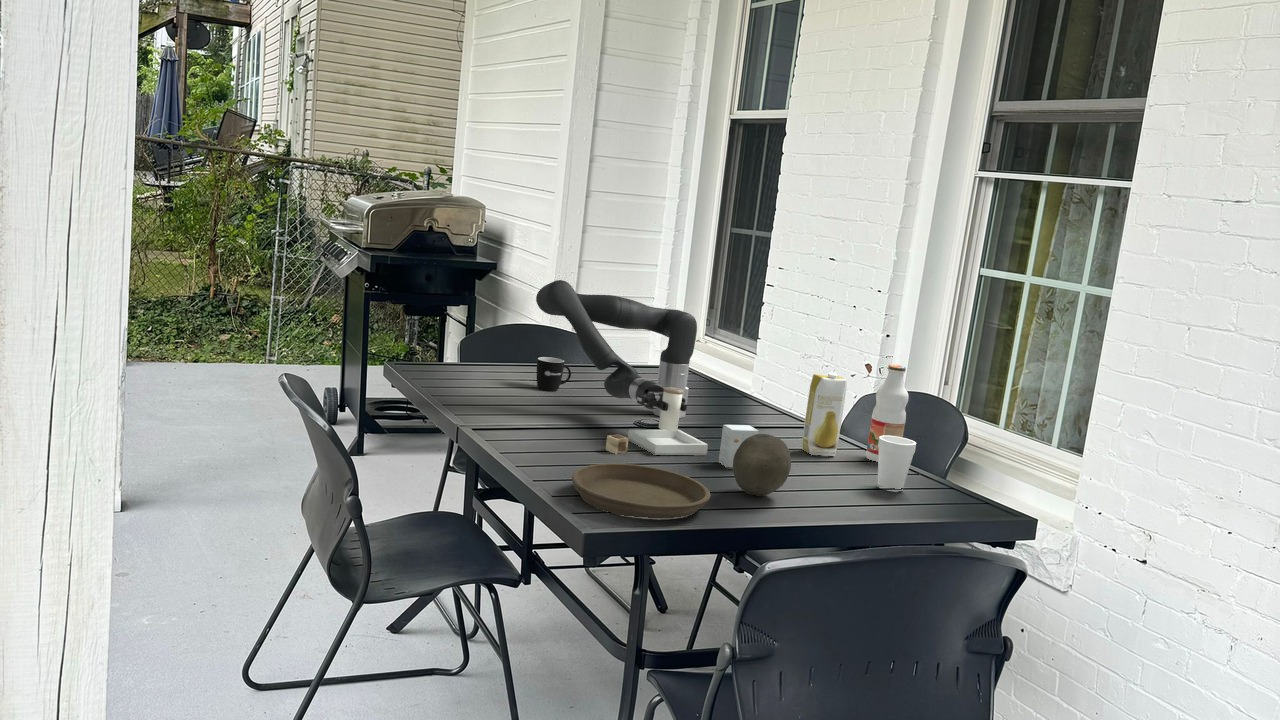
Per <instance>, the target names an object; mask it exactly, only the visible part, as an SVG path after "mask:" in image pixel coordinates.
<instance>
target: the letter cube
mask: <svg viewBox="0 0 1280 720" xmlns="http://www.w3.org/2000/svg"><path fill="white" fill-rule="evenodd" d="M628 439H629V438H628V437H626V436H623V435H622V434H621V435H620V434H612V435H611V434H609V435H607V437H606V444H605V451H606V452H610V453H612V454H614V453H615V455H618V454H617V453H621V454H627V453H628V446H629V441H628ZM626 452H627V453H626Z"/></svg>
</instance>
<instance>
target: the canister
mask: <svg viewBox="0 0 1280 720" xmlns="http://www.w3.org/2000/svg"><path fill="white" fill-rule="evenodd" d="M663 391H664V392H663V399H662V401H664V402H666V403H668V409H667V411H663V410H661V413H660V416H659V422H658V428H659V430H668V431H676V430H679V429H678V428H679V423H680V418H679V415H680V408H681V401H682V394H683V390H682V389H679V388H675V387H664V389H663Z"/></svg>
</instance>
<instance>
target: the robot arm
mask: <svg viewBox="0 0 1280 720" xmlns="http://www.w3.org/2000/svg"><path fill="white" fill-rule="evenodd" d="M535 301H536V305H537V307H538V308H539V309H540V310H541V311H542V312H544V313H545V314H547V315H550V316H558V317H559V316H560V317H564V318H566V320H567V321H568V322H569V324H570V325H571V326H572V328H573V330H574V332H575V335H576V338H577V339H578V340H577V341H578V342H579V344H580V347H581V349H582V351H583V352H584V353H585V355H586V356H587V357H588V359H589V360H590V361H591V362H592V365H594V367H595V368H596V369H597V370H599V371H604V370H606V369H608V368H610V367H612V366H615V367H616V369H615V370H614V371H613V372H611V373H610V374H609V375H607V376H606V378H605V379H604V383H603V386H604V390H605V391H606V392H607V393H608V395H610V396H612V397H613V398H616V399H631V400H633V401H634V402H635V403H636V404H638V405H640V406H642V407H644V408H646V409H648V410H653V415H654V416H657V417H660V413H661V410H663V411H667V409H668V403H666V402H664V401H662V399H663V392H664V391H663V389H664V387H675V388H679V389H682V390H683V394H682V401H681V408H680V415H679V419H680V418H685V417H686V413H687V412H686V411H687V407H688V397H689V396H688V395H689V389H690V388H689V387H688V386H687V385H688V375H689V370H690V369H689V368H690V361H691V358H692V356H693V354H694V350H695V345H696V339H697V333H698V323H697V320H696V318H695V316H694V315H692V314H691V313H689V312H686V311H683V310H680V309H673V308H672V309H671V308H663V307H662V308H661V307H655V306H650V305H646V304H644V303H642V302H639V301H636V300H633V299H630V298H627V297H622V296H619V295H612V294H582V293H576V290H575V289H574V287H573V286H572V285H571V283H569V282H567V280H566V281H565V280H563V279H560V280H559V279H557V280H554V281H551V282H549V283H547V284H546V285H544V286H542V287H541V288H540V289H539V291H538V292H537V293H536V297H535ZM594 323H597V324H601V325H605V326H609V327H613V328H619V329H625V330H646V331H650V332H654V333H657V334H659V335H662V336H664V337H667V338H668V341H667V346H666V348H665V349H664V350H662V351H661V353H660V358H659V365H658V374H657V382H655V381H652V380H650V379H648V378H644V377H642V376H639V373H638V371H637V370H636V368H635V367H633V366H632V365H631V364H629V363H628V362H627V361H625V360H623V359H622V357H620V356H619V355H618V354H617V353H616V352H615V351H614V350H613V348H612V347H611V346H610V344H609V343H608V342H607V340H606V339H605V338H604V337H603V335H602V334H601V332H600V331H599V330H598V328H597V327H596V325H595V324H594Z"/></svg>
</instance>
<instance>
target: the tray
mask: <svg viewBox="0 0 1280 720" xmlns="http://www.w3.org/2000/svg"><path fill="white" fill-rule="evenodd" d="M627 435H628V436H627V438H629V439H628V442H630V443H632V444H633V443H634V444H633V445H635V444H636V445H635V446H637V445H638V446H637V447H639V448H640V447H641V448H640V449H642V448H643V449H642V450H644V449H645V450H647V451H648V452H647V451H646V452H647V453H649V452H651V453H652V454H654V455H694V456H707V455H708V454H707V453H708V446H709V444H708V443H706V442H704V441H701V440H700V439H698V438H696V437H694V436H692V435H691V434H689V433H687V432H684V431H683V430H681V429H678V430H676V431H668V430H663V429H628V434H627ZM645 450H644V451H645ZM651 453H650V454H651ZM652 454H651V455H652ZM654 455H653V456H654Z"/></svg>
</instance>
